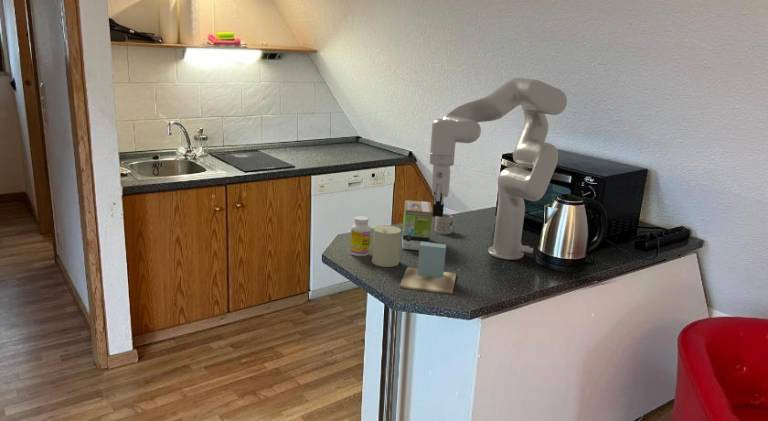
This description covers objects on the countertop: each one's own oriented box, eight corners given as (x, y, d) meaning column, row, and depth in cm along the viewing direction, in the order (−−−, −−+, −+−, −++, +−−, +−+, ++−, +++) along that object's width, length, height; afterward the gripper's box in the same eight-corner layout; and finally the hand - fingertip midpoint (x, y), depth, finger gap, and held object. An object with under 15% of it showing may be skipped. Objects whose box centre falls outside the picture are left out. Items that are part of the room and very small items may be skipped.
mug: (453, 234, 235) (455, 218, 233) (437, 234, 233) (438, 218, 231) (445, 227, 244) (447, 211, 242) (430, 227, 243) (431, 211, 241)
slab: (443, 274, 191) (446, 244, 188) (442, 278, 188) (445, 248, 185) (418, 271, 192) (421, 241, 190) (417, 275, 189) (419, 245, 186)
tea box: (429, 251, 214) (433, 211, 210) (401, 249, 214) (404, 209, 210) (427, 238, 228) (430, 200, 224) (401, 236, 228) (404, 199, 224)
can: (367, 263, 197) (369, 229, 194) (377, 255, 206) (379, 222, 203) (393, 268, 194) (396, 233, 191) (402, 260, 203) (405, 226, 200)
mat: (456, 275, 192) (456, 273, 192) (452, 294, 177) (452, 292, 177) (407, 269, 195) (407, 267, 195) (399, 287, 180) (399, 285, 180)
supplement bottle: (362, 258, 202) (364, 222, 199) (346, 253, 205) (347, 218, 202) (372, 253, 208) (375, 218, 204) (357, 249, 211) (359, 214, 207)
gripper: (452, 164, 178) (448, 223, 183) (455, 155, 192) (450, 210, 197) (427, 163, 179) (423, 221, 184) (432, 154, 193) (428, 208, 198)
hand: (437, 215), depth 191 cm, fingers closed
